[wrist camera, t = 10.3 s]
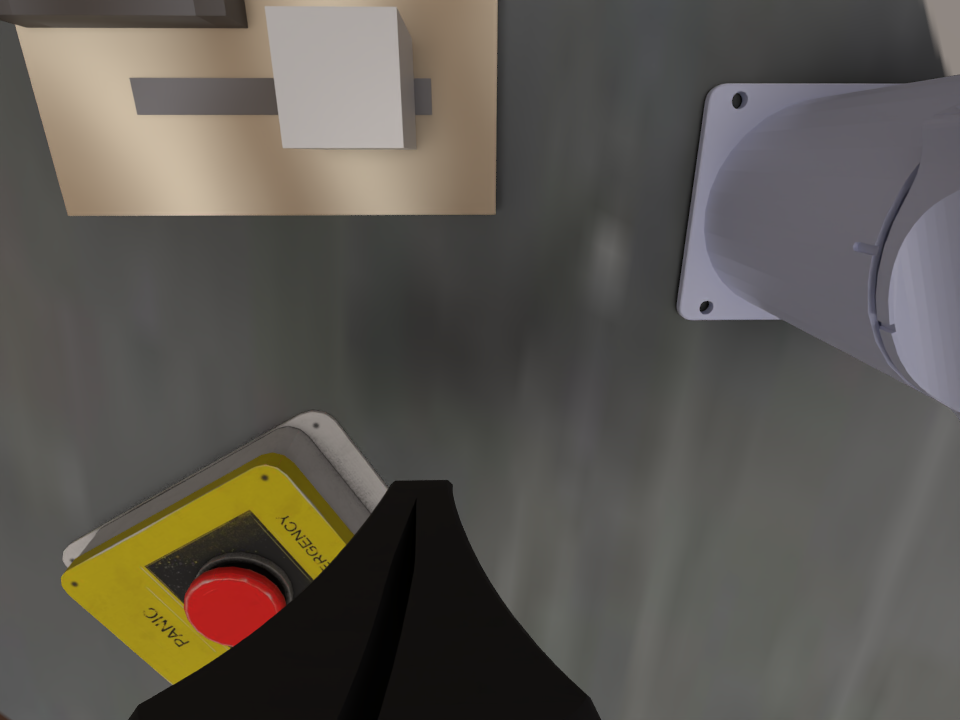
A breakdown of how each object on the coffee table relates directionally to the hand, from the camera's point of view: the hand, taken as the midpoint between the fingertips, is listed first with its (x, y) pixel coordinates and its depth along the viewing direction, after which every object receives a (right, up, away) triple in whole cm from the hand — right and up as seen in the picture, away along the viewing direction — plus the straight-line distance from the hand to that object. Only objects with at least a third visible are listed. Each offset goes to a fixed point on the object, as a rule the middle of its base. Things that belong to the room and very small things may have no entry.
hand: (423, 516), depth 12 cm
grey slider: (-2, +12, +4) cm, 12 cm away
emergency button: (-9, -5, +13) cm, 16 cm away
